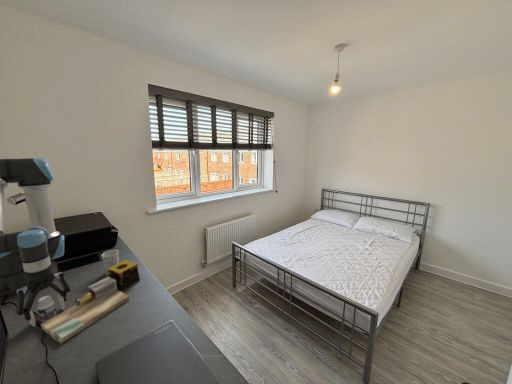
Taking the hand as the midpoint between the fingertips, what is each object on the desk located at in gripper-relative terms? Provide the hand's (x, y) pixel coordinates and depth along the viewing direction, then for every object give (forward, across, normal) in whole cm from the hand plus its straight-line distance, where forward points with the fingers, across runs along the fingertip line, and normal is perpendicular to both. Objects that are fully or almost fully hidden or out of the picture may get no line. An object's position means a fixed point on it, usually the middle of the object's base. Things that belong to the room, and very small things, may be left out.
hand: (48, 316), depth 89 cm
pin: (-3, +11, -8) cm, 14 cm away
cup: (0, +32, +10) cm, 34 cm away
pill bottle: (+1, 0, 0) cm, 1 cm away
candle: (+1, +29, -6) cm, 30 cm away
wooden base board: (0, +9, -13) cm, 16 cm away
